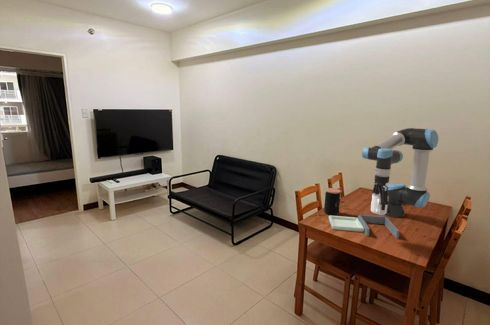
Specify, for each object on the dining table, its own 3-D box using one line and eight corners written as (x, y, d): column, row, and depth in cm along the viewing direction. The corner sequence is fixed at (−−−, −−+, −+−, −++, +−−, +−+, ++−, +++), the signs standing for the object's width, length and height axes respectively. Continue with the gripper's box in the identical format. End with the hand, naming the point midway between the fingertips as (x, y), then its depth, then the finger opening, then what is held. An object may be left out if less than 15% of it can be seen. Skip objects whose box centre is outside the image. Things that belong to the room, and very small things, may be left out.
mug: (368, 214, 153) (370, 197, 151) (371, 208, 163) (373, 191, 161) (385, 218, 149) (387, 200, 147) (387, 211, 159) (389, 194, 156)
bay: (385, 223, 181) (386, 216, 180) (398, 238, 159) (399, 231, 158) (357, 221, 183) (358, 214, 182) (366, 236, 162) (367, 228, 161)
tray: (356, 220, 184) (357, 217, 183) (363, 232, 167) (364, 228, 167) (328, 218, 187) (328, 215, 186) (332, 229, 170) (332, 225, 170)
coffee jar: (336, 217, 190) (339, 193, 186) (322, 213, 196) (324, 190, 192) (340, 212, 199) (342, 189, 195) (326, 209, 205) (327, 187, 201)
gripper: (368, 170, 163) (365, 203, 168) (383, 180, 141) (378, 218, 145) (381, 170, 162) (377, 204, 167) (398, 181, 140) (392, 219, 145)
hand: (377, 211), depth 156 cm, fingers closed on mug, 11 cm apart
